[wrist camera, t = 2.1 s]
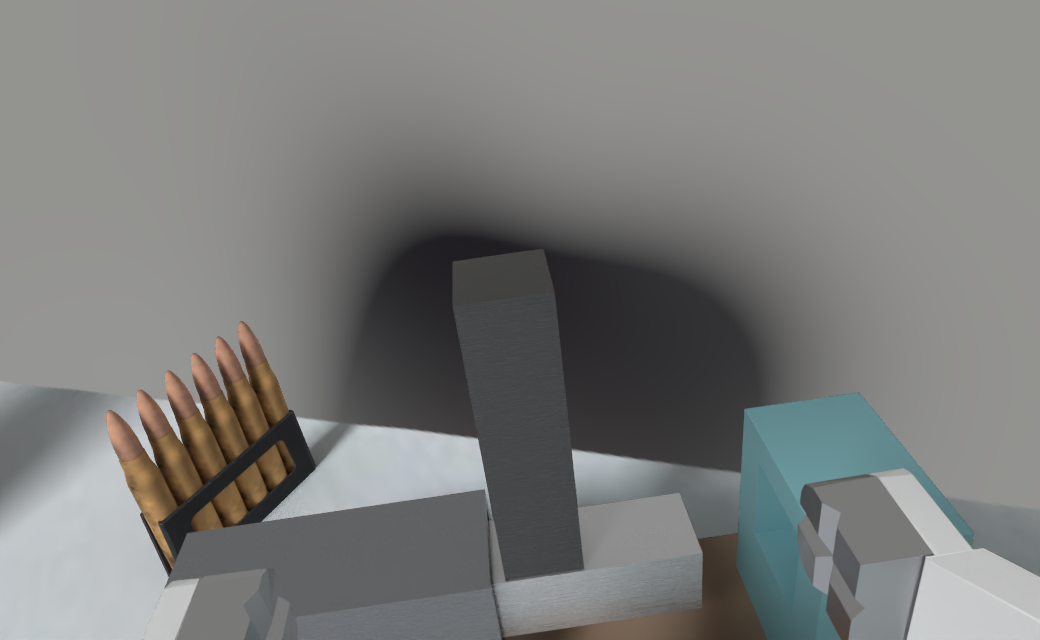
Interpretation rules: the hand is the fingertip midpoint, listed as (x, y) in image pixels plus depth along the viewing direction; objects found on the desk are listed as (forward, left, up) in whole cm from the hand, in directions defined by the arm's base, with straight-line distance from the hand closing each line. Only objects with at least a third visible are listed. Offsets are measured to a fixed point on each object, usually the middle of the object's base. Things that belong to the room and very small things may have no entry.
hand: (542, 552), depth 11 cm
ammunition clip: (-18, +26, -23) cm, 39 cm away
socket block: (+12, +12, -22) cm, 27 cm away
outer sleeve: (-8, +12, -18) cm, 23 cm away
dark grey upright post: (-4, +12, -17) cm, 21 cm away
